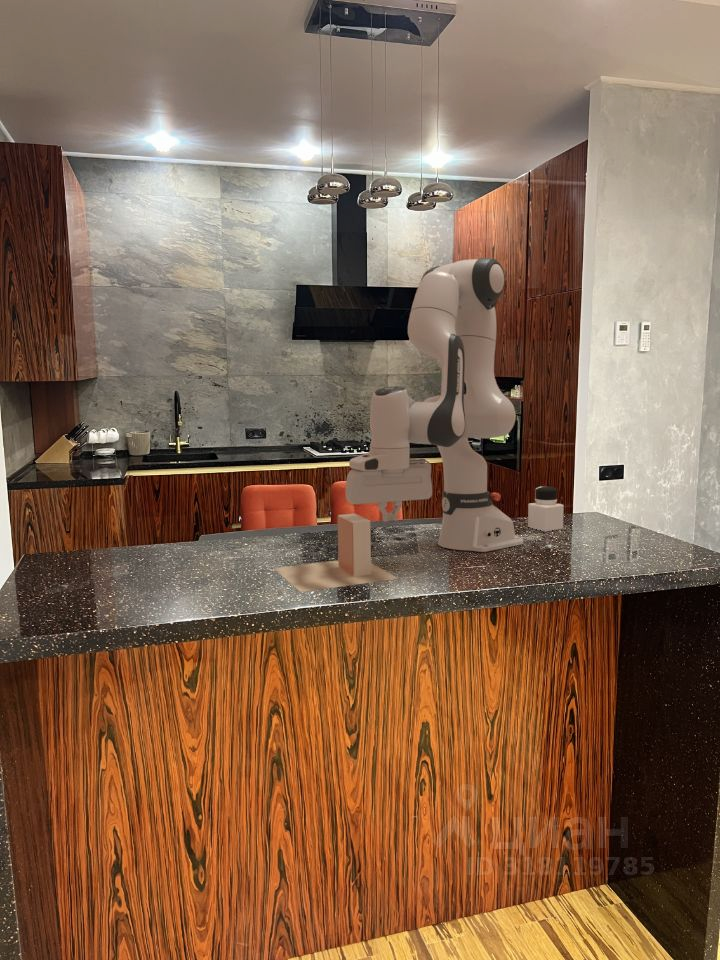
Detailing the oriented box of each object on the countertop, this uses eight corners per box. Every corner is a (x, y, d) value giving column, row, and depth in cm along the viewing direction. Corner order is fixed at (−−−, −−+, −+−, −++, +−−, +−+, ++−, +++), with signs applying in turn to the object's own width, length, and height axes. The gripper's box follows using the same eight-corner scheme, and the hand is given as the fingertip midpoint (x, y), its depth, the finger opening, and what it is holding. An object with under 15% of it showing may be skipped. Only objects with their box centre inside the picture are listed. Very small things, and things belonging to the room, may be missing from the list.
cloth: (362, 561, 169) (362, 557, 168) (398, 583, 150) (398, 578, 150) (273, 572, 160) (273, 568, 160) (300, 596, 142) (300, 591, 142)
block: (355, 564, 162) (354, 513, 160) (371, 574, 154) (370, 520, 152) (338, 566, 160) (337, 515, 159) (353, 576, 152) (352, 522, 150)
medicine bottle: (563, 529, 201) (564, 487, 199) (545, 532, 198) (546, 489, 196) (545, 524, 207) (546, 484, 205) (527, 527, 204) (528, 486, 202)
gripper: (424, 457, 164) (424, 515, 166) (342, 460, 156) (343, 522, 158) (437, 459, 158) (437, 520, 160) (353, 463, 150) (353, 527, 152)
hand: (389, 521), depth 159 cm, fingers closed
